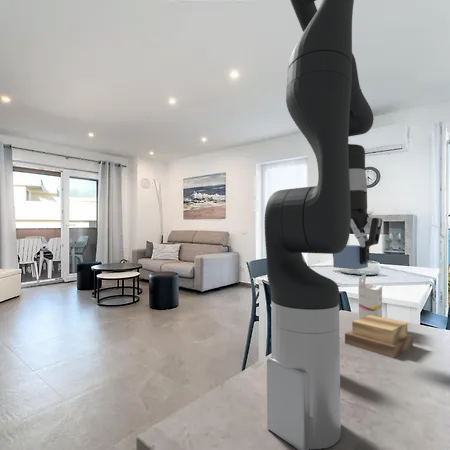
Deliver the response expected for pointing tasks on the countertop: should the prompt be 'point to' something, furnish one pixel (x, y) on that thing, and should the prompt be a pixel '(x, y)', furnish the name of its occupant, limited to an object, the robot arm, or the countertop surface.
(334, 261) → the slate block
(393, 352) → the walnut base slab
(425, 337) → the countertop surface
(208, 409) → the countertop surface
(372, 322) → the oak top slab
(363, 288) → the ink cartridge box
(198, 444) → the countertop surface
